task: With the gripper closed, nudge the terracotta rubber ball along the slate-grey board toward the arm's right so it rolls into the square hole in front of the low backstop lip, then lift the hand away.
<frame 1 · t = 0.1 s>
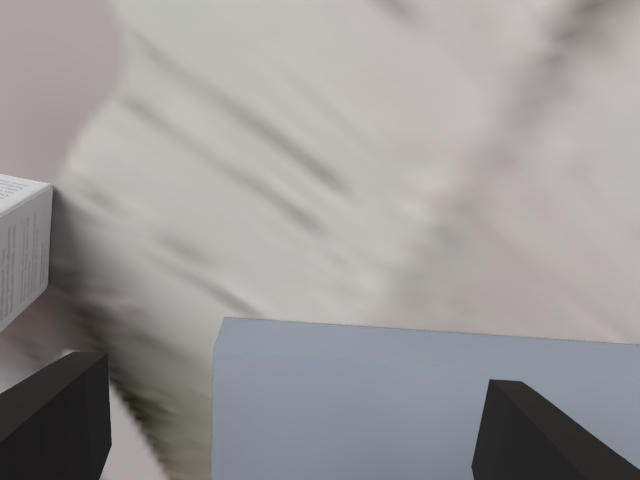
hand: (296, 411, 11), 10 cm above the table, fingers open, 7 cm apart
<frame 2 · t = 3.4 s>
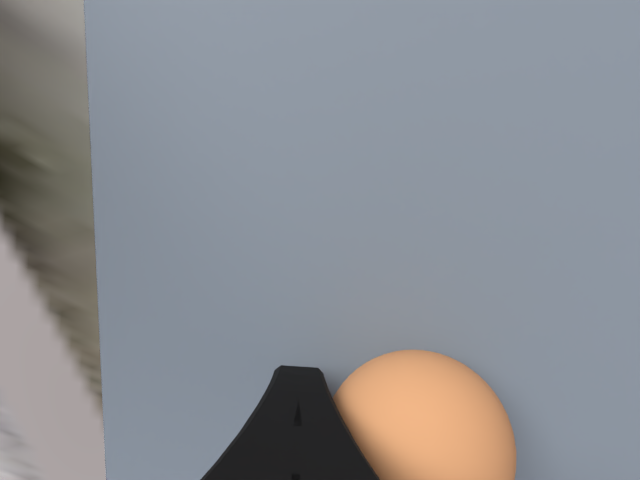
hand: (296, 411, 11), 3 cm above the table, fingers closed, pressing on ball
ball: (394, 391, 12), point 2 cm above the table, tilted 6°, touching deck, gripper
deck: (579, 350, 14), on the table
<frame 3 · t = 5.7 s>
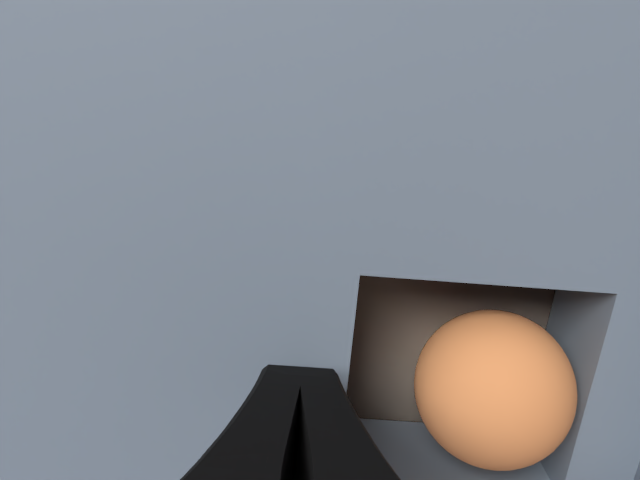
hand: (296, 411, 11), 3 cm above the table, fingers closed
ball: (424, 413, 12), point 2 cm above the table, tilted 109°
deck: (198, 321, 14), on the table
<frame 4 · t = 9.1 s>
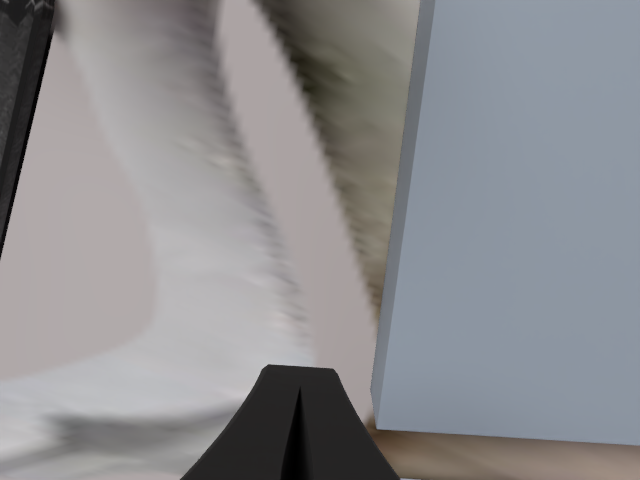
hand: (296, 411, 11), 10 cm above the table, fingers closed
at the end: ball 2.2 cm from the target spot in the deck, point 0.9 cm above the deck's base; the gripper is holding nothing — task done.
